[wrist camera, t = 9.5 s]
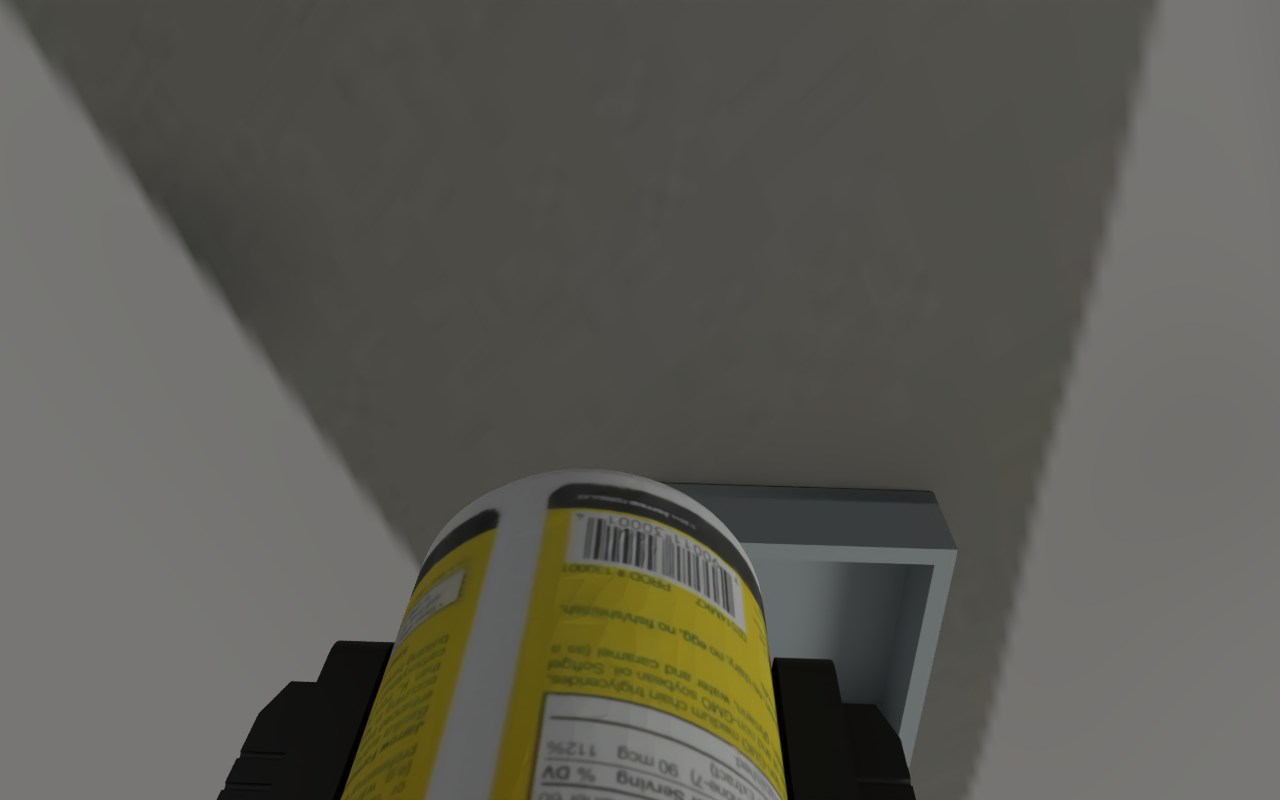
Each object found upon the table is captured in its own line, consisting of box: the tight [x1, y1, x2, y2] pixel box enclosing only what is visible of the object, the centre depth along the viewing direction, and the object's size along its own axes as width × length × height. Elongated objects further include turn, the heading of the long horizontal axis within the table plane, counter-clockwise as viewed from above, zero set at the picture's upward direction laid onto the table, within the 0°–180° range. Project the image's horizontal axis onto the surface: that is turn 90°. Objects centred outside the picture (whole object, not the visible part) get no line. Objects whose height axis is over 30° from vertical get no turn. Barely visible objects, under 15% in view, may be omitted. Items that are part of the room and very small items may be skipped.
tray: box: [663, 483, 958, 767], centre depth 27 cm, size 8×8×3 cm
